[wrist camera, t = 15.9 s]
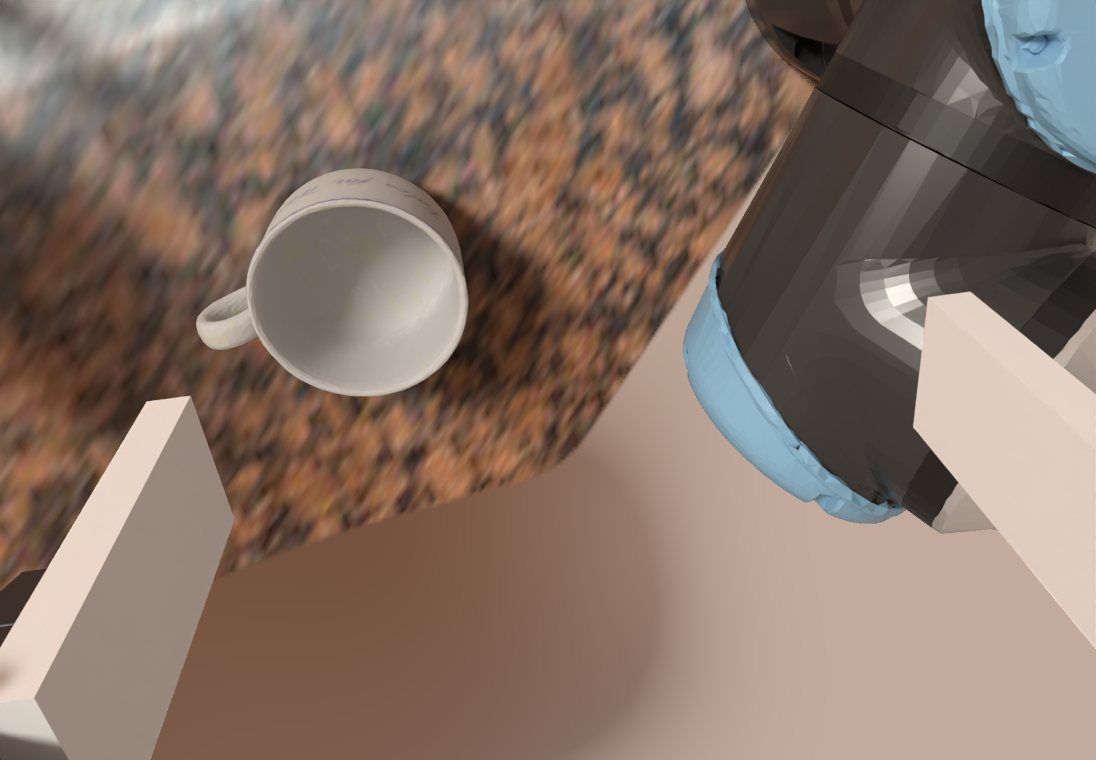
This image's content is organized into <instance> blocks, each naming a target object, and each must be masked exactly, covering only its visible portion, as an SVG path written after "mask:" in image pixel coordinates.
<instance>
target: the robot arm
mask: <svg viewBox="0 0 1096 760" xmlns="http://www.w3.org/2000/svg"><path fill="white" fill-rule="evenodd" d="M746 3H747V6H748V9H749V11H750V13H751V16H752V18H753V20H754V22H755V24H756V26H757V27H758V29H759V30H760V32H761V34H762V35H763V37H764V38H765V39H766V41H767V42H768V43H769V44H770V46H771V47H772V48H773V49H774V50H775V51H776V52H777V53H778V54H779V55H780V56H781V57H782V58H783V59H784V60H786V61H787V62H788V63H789V64H791V65H792V66H794V67H795V68H797V69H798V70H800V71H802V72H804V73H805V74H807V75H809V76H811V77H812V78H814V79H816V80H818V81H819V83H818V85H817V87H815V88H814V90H813V92H812V94H811V95H810V97H809V99H808V101H807V103H806V105H805V106H804V108H803V110H802V112H801V114H800V116H799V117H798V119H797V121H796V123H795V125H794V127H793V128H792V130H791V132H790V134H789V136H788V138H787V139H786V141H785V143H784V145H783V147H782V148H781V150H780V152H779V154H778V156H777V157H776V159H775V161H774V163H773V164H772V166H771V168H770V170H769V172H768V173H767V175H766V177H765V179H764V180H763V182H762V184H761V186H760V188H759V189H758V191H757V193H756V195H755V196H754V198H753V200H752V202H751V204H750V205H749V207H748V209H747V211H746V212H745V214H744V216H743V218H742V220H741V221H740V223H739V225H738V227H737V228H736V230H735V232H734V234H733V236H732V237H731V239H730V241H729V243H728V244H727V246H726V248H725V249H724V250H723V251H722V252H721V253H720V254H718V255H717V257H716V259H715V260H714V262H713V264H712V267H711V270H710V274H709V283H708V285H707V287H706V289H705V291H704V293H703V295H702V298H701V300H700V302H699V304H698V306H697V308H696V310H695V312H694V314H693V316H692V318H691V320H690V322H689V324H688V327H687V329H686V333H685V337H684V343H683V344H684V345H683V354H684V360H685V364H686V367H687V370H688V379H689V382H690V385H691V387H692V389H693V391H694V393H695V395H696V397H697V399H698V401H699V403H700V404H701V406H702V408H703V409H704V411H705V412H706V413H707V415H708V417H709V418H710V419H711V421H712V422H713V423H714V425H715V426H716V427H717V429H718V430H719V431H720V432H721V433H722V434H723V436H724V437H725V438H726V439H727V440H728V441H729V442H730V443H731V444H732V446H734V447H735V448H736V450H738V451H739V452H740V453H741V454H742V455H743V457H744V458H746V460H748V461H749V462H750V463H751V464H753V466H755V467H756V468H757V469H758V470H759V471H760V472H761V473H763V474H764V475H765V476H766V477H768V478H769V479H770V480H771V481H773V482H774V483H776V484H777V485H778V486H780V487H781V488H783V489H784V490H786V491H787V492H789V493H790V494H792V495H793V496H795V497H797V498H798V499H800V500H802V501H804V502H810V501H812V500H815V501H816V502H817V503H818V504H819V505H820V506H821V508H822V509H823V510H824V511H825V512H826V513H827V514H829V515H832V516H834V517H837V518H840V519H843V520H846V521H850V522H856V523H879V522H883V521H885V520H887V519H889V518H890V517H893V516H897V515H899V514H901V513H902V512H903V511H905V510H906V509H907V510H908V511H910V512H911V513H912V514H914V515H915V516H916V517H918V518H919V519H921V520H922V521H923V522H925V523H926V524H927V525H929V526H930V527H932V528H933V529H935V530H936V531H938V532H939V533H942V534H943V533H953V532H964V531H975V530H986V529H994V530H998V531H999V532H1000V533H1001V535H1002V536H1003V537H1004V538H1005V540H1006V541H1007V542H1008V543H1009V544H1010V546H1011V547H1012V548H1013V549H1014V551H1015V552H1016V553H1017V554H1018V555H1019V556H1020V558H1021V559H1022V560H1023V562H1025V564H1026V565H1027V566H1028V568H1029V569H1030V570H1031V571H1032V572H1033V574H1034V575H1035V576H1036V577H1037V578H1038V580H1039V581H1040V582H1041V583H1042V585H1043V586H1044V587H1045V588H1046V589H1047V591H1048V592H1049V593H1050V594H1051V596H1052V597H1053V598H1054V599H1055V601H1056V602H1057V603H1058V604H1059V605H1060V607H1061V608H1062V609H1063V610H1064V611H1065V612H1066V614H1067V615H1068V616H1069V617H1070V619H1071V620H1072V621H1073V622H1074V624H1075V625H1076V626H1077V627H1078V628H1079V630H1080V631H1081V632H1082V633H1083V635H1084V636H1085V637H1086V638H1087V640H1088V641H1089V642H1090V643H1091V644H1092V646H1093V647H1094V648H1095V649H1096V0H746ZM233 522H234V517H233V514H232V511H231V509H230V506H229V503H228V500H227V497H226V495H225V492H224V489H223V486H222V483H221V480H220V478H219V475H218V472H217V469H216V466H215V463H214V461H213V458H212V455H211V452H210V449H209V446H208V444H207V441H206V438H205V435H204V432H203V429H202V427H201V424H200V421H199V418H198V415H197V412H196V410H195V407H194V404H193V401H192V398H191V396H185V397H177V398H170V399H162V400H155V401H147V402H146V404H145V405H144V407H143V409H142V410H141V412H140V414H139V415H138V417H137V419H136V420H135V422H134V424H133V425H132V427H131V429H130V431H129V432H128V434H127V436H126V437H125V439H124V441H123V442H122V444H121V446H120V447H119V449H118V451H117V452H116V454H115V456H114V457H113V459H112V461H111V462H110V464H109V466H108V467H107V469H106V471H105V472H104V474H103V476H102V478H101V479H100V481H99V483H98V484H97V486H96V488H95V489H94V491H93V493H92V494H91V496H90V498H89V499H88V501H87V503H86V504H85V506H84V508H83V509H82V511H81V513H80V514H79V516H78V518H77V520H76V521H75V523H74V525H73V526H72V528H71V530H70V531H69V533H68V535H67V536H66V538H65V540H64V541H63V543H62V545H61V546H60V548H59V550H58V551H57V553H56V555H55V556H54V558H53V560H52V562H51V563H50V565H49V567H48V568H47V569H41V570H33V571H26V572H22V573H21V574H20V575H18V576H17V577H16V578H15V579H14V580H13V581H12V582H11V583H9V584H8V585H7V586H6V587H5V588H4V589H3V590H1V591H0V760H150V759H151V756H152V753H153V751H154V747H155V745H156V742H157V739H158V736H159V734H160V730H161V728H162V725H163V722H164V719H165V716H166V713H167V711H168V708H169V705H170V702H171V699H172V696H173V693H174V691H175V688H176V685H177V682H178V679H179V676H180V674H181V671H182V668H183V665H184V662H185V659H186V656H187V654H188V651H189V648H190V645H191V642H192V639H193V636H194V634H195V631H196V628H197V625H198V622H199V619H200V616H201V614H202V611H203V608H204V605H205V602H206V599H207V596H208V594H209V591H210V588H211V585H212V582H213V579H214V577H215V574H216V571H217V568H218V565H219V562H220V559H221V557H222V554H223V551H224V548H225V545H226V542H227V539H228V537H229V534H230V531H231V528H232V525H233Z"/></svg>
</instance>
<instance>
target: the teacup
mask: <svg viewBox="0 0 1096 760" xmlns="http://www.w3.org/2000/svg"><path fill="white" fill-rule="evenodd" d="M468 304H469V301H468V289H467V283H466V279H465V275H464V268H463V261H462V256H461V250H460V246H459V243H458V240H457V237H456V234H455V231H454V229H453V227H452V225H451V223H450V221H449V219H448V218H447V216H446V214H445V213H444V211H443V210H442V209H441V208H440V207H439V205H438V204H437V203H436V202H435V201H434V200H433V199H432V198H431V197H430V196H429V195H428V194H427V193H426V192H424V191H423V190H422V189H421V188H419V187H418V186H416V185H414V184H413V183H411V182H410V181H408V180H405V179H403V178H401V177H399V176H397V175H394V174H391V173H387V172H384V171H379V170H373V169H345V170H339V171H334V172H331V173H328V174H324V175H322V176H319V177H317V178H315V179H313V180H311V181H309V182H308V183H306V184H304V185H303V186H302V187H300V188H299V189H298V190H296V191H295V192H294V193H293V194H292V195H291V196H290V197H289V198H288V199H287V200H286V201H285V202H284V204H283V205H282V206H281V207H280V209H279V210H278V211H277V213H276V215H275V216H274V218H273V220H272V222H271V223H270V225H269V227H268V229H267V232H266V234H265V236H264V238H263V240H262V241H261V243H260V244H259V246H258V248H257V249H256V251H255V253H254V256H253V258H252V260H251V263H250V266H249V270H248V274H247V281H246V286H245V287H243V288H241V289H239V290H237V291H234V292H232V293H231V294H229V295H227V296H225V297H223V298H221V299H219V300H217V301H215V302H213V303H212V304H210V305H209V306H208V307H207V308H205V309H204V310H203V311H202V312H201V314H200V315H199V316H198V318H197V322H196V326H197V331H198V334H199V336H200V337H201V339H202V340H203V342H204V343H205V344H206V345H207V346H208V347H210V348H212V349H217V350H225V349H230V348H234V347H238V346H240V345H243V344H245V343H248V342H250V341H251V340H253V339H255V338H257V337H259V339H260V340H261V342H262V343H263V345H264V346H265V347H266V349H267V350H268V352H269V353H270V354H271V355H272V356H273V357H274V358H275V359H276V360H277V361H278V362H279V363H280V364H281V365H282V366H283V367H284V368H285V369H286V370H287V371H288V372H290V373H291V374H293V375H294V376H296V377H297V378H299V379H300V380H302V381H304V382H306V383H308V384H310V385H312V386H314V387H317V388H319V389H322V390H325V391H329V392H332V393H336V394H342V395H348V396H380V395H386V394H391V393H395V392H398V391H402V390H405V389H407V388H410V387H412V386H414V385H416V384H418V383H420V382H422V381H423V380H425V379H426V378H428V377H429V376H430V375H432V374H433V373H434V372H435V371H437V370H438V369H439V368H440V367H441V366H442V365H443V364H444V363H445V362H446V361H447V360H448V359H449V357H450V356H451V355H452V353H453V352H454V351H455V349H456V347H457V346H458V344H459V342H460V340H461V338H462V335H463V332H464V329H465V325H466V321H467V312H468Z"/></svg>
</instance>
